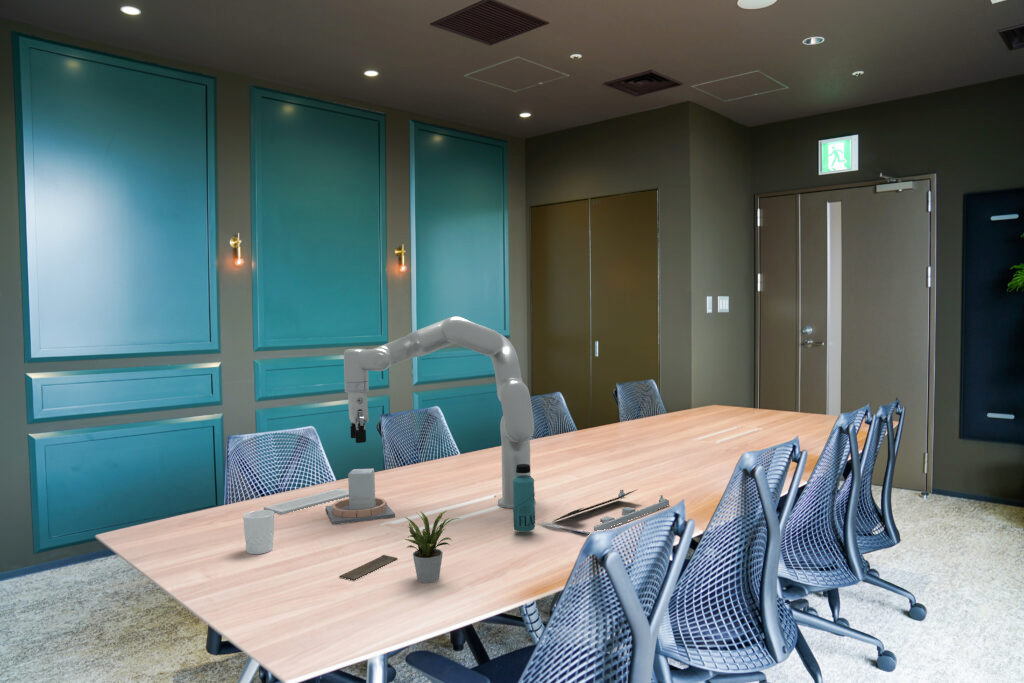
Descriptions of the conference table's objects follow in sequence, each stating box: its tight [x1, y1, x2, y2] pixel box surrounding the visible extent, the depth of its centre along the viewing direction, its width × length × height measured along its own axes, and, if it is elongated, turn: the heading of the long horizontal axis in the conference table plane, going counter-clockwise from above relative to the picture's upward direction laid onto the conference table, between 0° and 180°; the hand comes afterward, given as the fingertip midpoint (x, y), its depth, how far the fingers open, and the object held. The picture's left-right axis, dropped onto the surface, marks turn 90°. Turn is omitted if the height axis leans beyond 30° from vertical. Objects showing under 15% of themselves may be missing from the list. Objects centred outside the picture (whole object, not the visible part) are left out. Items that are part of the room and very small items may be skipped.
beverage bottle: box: [512, 464, 536, 533], centre depth 196 cm, size 6×7×20 cm
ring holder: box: [325, 496, 396, 525], centre depth 220 cm, size 19×19×3 cm
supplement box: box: [347, 468, 376, 510], centre depth 220 cm, size 7×7×13 cm
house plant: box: [401, 510, 461, 584], centre depth 163 cm, size 14×14×16 cm
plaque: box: [263, 488, 349, 516], centre depth 235 cm, size 30×2×10 cm
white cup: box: [242, 509, 275, 555], centre depth 185 cm, size 8×8×10 cm
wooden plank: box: [338, 554, 398, 581], centre depth 171 cm, size 17×1×5 cm
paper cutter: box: [540, 489, 670, 535], centre depth 213 cm, size 18×45×6 cm, turn 136°
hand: (358, 440), depth 220 cm, fingers open, 9 cm apart
